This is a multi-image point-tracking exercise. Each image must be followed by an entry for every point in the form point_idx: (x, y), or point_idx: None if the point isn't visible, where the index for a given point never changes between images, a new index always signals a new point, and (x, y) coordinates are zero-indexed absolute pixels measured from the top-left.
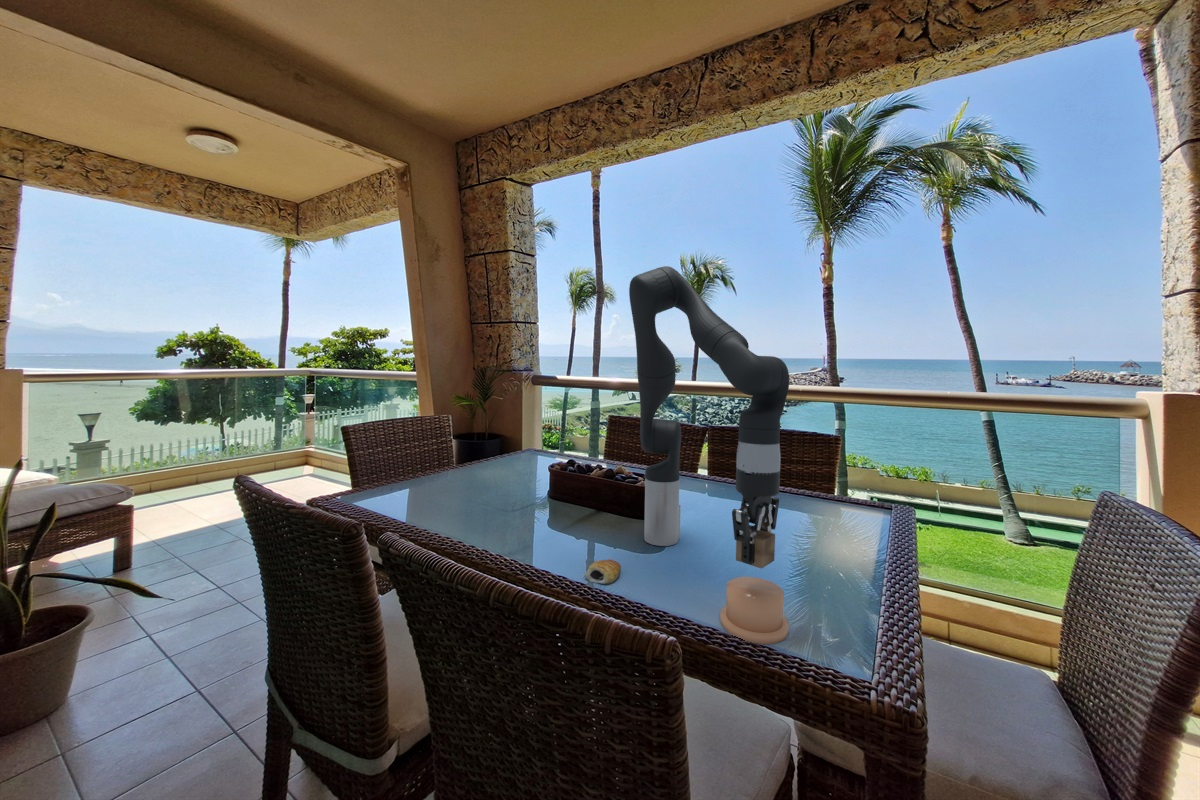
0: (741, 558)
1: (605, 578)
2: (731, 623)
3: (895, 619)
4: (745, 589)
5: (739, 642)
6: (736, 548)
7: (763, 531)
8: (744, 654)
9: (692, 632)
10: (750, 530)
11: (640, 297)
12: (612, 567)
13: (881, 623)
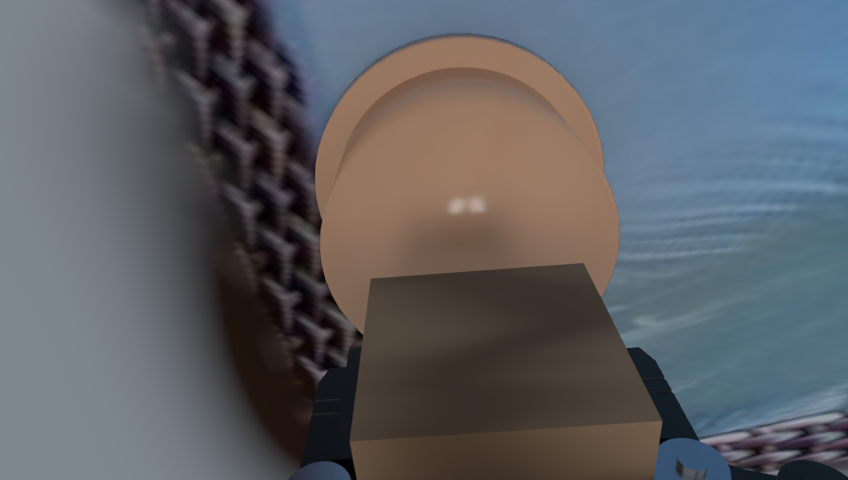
0: (350, 353)
1: None
2: (339, 153)
3: (844, 442)
4: (424, 226)
5: (304, 206)
6: (364, 338)
7: None
8: (258, 254)
9: (189, 39)
10: (561, 469)
11: None
12: None
13: (787, 427)
